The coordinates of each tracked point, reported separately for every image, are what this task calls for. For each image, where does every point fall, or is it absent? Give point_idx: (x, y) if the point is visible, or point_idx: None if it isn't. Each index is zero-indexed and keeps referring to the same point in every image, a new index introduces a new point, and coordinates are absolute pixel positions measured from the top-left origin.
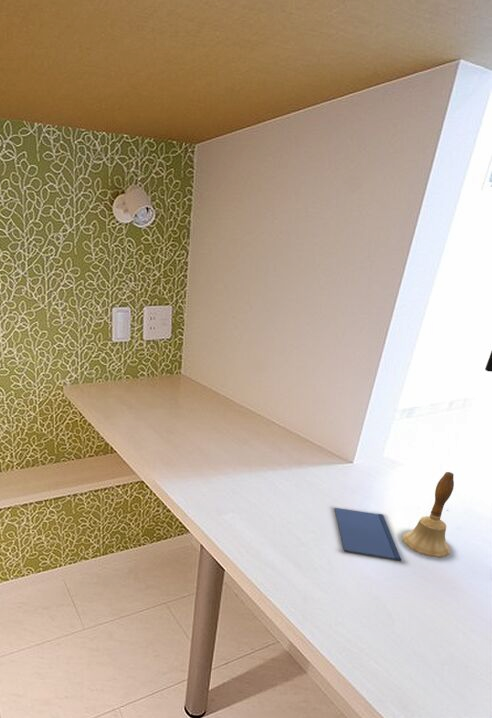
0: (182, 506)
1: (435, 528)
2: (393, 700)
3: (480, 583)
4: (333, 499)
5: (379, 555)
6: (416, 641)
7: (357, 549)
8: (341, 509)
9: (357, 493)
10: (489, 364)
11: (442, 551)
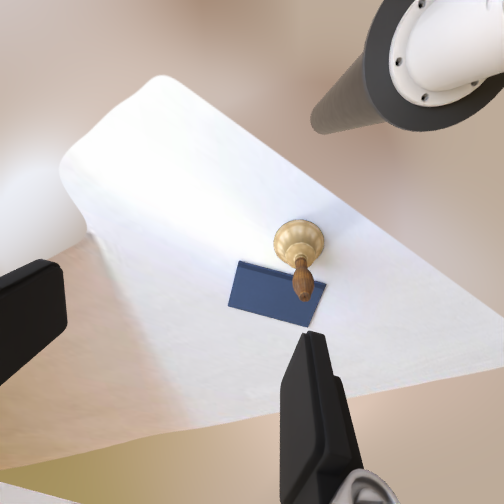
0: (237, 420)
1: (313, 261)
2: (472, 361)
3: (370, 224)
4: (205, 298)
5: (318, 301)
6: (429, 323)
7: (307, 316)
8: (230, 300)
9: (186, 265)
10: (40, 348)
11: (320, 240)
